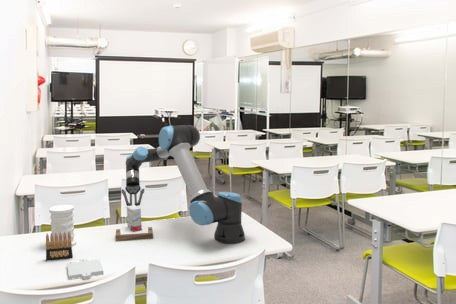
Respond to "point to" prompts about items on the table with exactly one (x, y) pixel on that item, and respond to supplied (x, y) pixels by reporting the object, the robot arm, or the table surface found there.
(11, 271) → the table surface
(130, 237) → the walnut bay
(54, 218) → the decorative container
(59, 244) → the ammunition clip
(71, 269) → the mounting plate
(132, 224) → the ink box
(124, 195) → the robot arm
